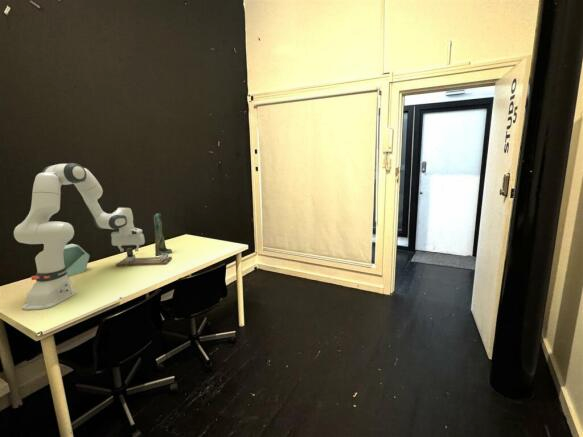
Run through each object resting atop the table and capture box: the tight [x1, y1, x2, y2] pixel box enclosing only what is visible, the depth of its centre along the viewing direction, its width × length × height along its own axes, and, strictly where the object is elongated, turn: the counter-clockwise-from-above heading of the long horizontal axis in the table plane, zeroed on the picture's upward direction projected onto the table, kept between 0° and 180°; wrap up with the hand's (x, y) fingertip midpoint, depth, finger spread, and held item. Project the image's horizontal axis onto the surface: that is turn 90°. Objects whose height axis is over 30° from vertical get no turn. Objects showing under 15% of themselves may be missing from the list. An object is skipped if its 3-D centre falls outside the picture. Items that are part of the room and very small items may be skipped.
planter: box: [63, 243, 90, 277], centre depth 186 cm, size 17×8×21 cm
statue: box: [153, 213, 173, 257], centre depth 221 cm, size 7×11×30 cm, turn 124°
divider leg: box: [124, 247, 136, 263], centre depth 202 cm, size 8×4×8 cm, turn 4°
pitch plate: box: [115, 253, 173, 268], centre depth 204 cm, size 12×32×6 cm, turn 94°
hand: (129, 251), depth 202 cm, fingers open, 8 cm apart
